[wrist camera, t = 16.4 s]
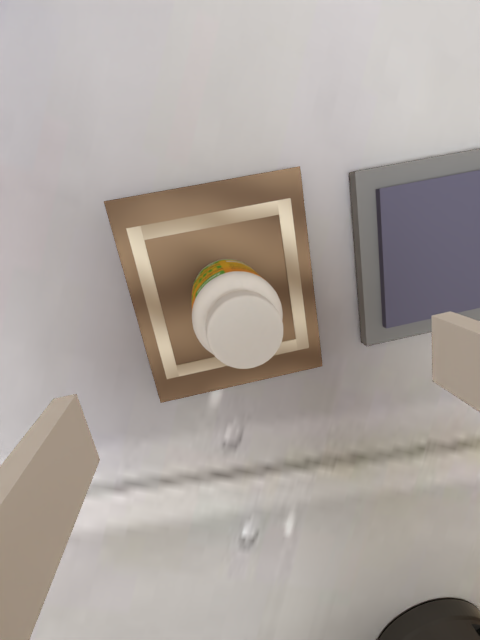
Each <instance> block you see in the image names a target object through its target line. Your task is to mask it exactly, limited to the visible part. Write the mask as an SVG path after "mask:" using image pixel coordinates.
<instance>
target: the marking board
mask: <svg viewBox="0 0 480 640" xmlns="http://www.w3.org/2000/svg"><path fill="white" fill-rule="evenodd" d="M104 204H105V207H106V211H107V214H108V218H109V222H110V225H111V229H112V232H113V236H114V239H115V243H116V246H117V250H118V253H119V257H120V260H121V264H122V267H123V271H124V275H125V278H126V282H127V285H128V289H129V292H130V296H131V299H132V303H133V306H134V310H135V313H136V317H137V321H138V324H139V328H140V331H141V335H142V338H143V342H144V345H145V349H146V352H147V356H148V359H149V363H150V367H151V370H152V374H153V377H154V381H155V384H156V388H157V391H158V395H159V398H160V402H161V403H162V402H166V401H171V400H175V399H180V398H184V397H188V396H193V395H197V394H202V393H206V392H210V391H215V390H219V389H224V388H228V387H232V386H237V385H241V384H246V383H250V382H254V381H259V380H263V379H268V378H272V377H276V376H281V375H285V374H290V373H294V372H298V371H303V370H307V369H312V368H316V367H320V366H322V357H321V348H320V340H319V331H318V322H317V313H316V304H315V295H314V286H313V278H312V269H311V260H310V251H309V242H308V233H307V224H306V216H305V207H304V198H303V189H302V180H301V171H300V167H294V168H289V169H283V170H277V171H272V172H266V173H261V174H255V175H249V176H244V177H238V178H233V179H227V180H221V181H216V182H210V183H205V184H199V185H193V186H188V187H182V188H177V189H171V190H165V191H160V192H154V193H149V194H143V195H138V196H132V197H126V198H121V199H115V200H110V201H104ZM222 259H233V260H238V261H240V262H243V263H245V264H246V265H248V266H249V267H251V268H252V269H253V270H254V271H255V272H256V273H258V274H259V275H260V276H261V277H262V278H264V279H265V280H266V281H267V282H268V283H269V284H270V285H271V286H272V287H273V289H274V290H275V291H276V293H277V295H278V297H279V299H280V302H281V305H282V312H283V319H282V322H283V339H282V342H281V345H280V347H279V349H278V350H277V352H276V353H275V354H274V355H273V357H272V358H271V359H269V360H268V361H267V362H265V363H264V364H262V365H260V366H257V367H254V368H249V369H238V368H233V367H230V366H227V365H225V364H224V363H222V362H221V361H219V360H218V359H217V358H216V357H215V356H214V355H213V354H212V353H210V352H209V351H208V350H206V349H205V348H204V347H203V346H202V344H201V343H200V342H199V340H198V338H197V336H196V334H195V332H194V329H193V324H192V288H193V284H194V281H195V279H196V277H197V275H198V274H199V273H200V271H201V270H202V269H203V268H204V267H206V266H207V265H209V264H210V263H212V262H214V261H217V260H222Z"/></svg>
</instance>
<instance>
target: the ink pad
mask: <svg viewBox="0 0 480 640" xmlns="http://www.w3.org/2000/svg"><path fill="white" fill-rule="evenodd" d="M349 179H350V192H351V206H352V220H353V234H354V247H355V261H356V275H357V288H358V302H359V316H360V330H361V342H362V343H363V344H364V345H366V346H371V345H375V344H380V343H384V342H389V341H393V340H397V339H402V338H406V337H411V336H415V335H420V334H424V333H429V332H432V315H436V314H441V313H445V312H450V311H451V312H454V313H457V314H460V315H463V316H466V317H469V318H471V319H474V320H477V321H480V149H475V150H470V151H464V152H459V153H453V154H448V155H442V156H437V157H431V158H426V159H420V160H415V161H409V162H404V163H398V164H393V165H387V166H382V167H376V168H371V169H365V170H360V171H355V172H351V173H349Z"/></svg>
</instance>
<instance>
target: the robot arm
mask: <svg viewBox="0 0 480 640" xmlns="http://www.w3.org/2000/svg"><path fill="white" fill-rule="evenodd" d="M432 377H433V382H435V383H436V384H438V385H439V386H441V387H442V388H444V389H445V390H447V391H448V392H450V393H451V394H453V395H454V396H456V397H458V398H459V399H461V400H462V401H464V402H465V403H467V404H468V405H470V406H471V407H473V408H474V409H476V410H477V411H479V412H480V321H477V320H474V319H471V318H469V317H466V316H463V315H460V314H457V313H454V312H451V311H450V312H445V313H441V314H436V315H432ZM99 461H100V459H99V456H98V453H97V450H96V447H95V445H94V442H93V439H92V436H91V433H90V431H89V428H88V425H87V422H86V419H85V417H84V414H83V411H82V408H81V405H80V403H79V400H78V397H77V394H73V395H68V396H64V397H59V398H55V399H53V400H52V402H51V403H50V404H49V405H48V407H47V408H46V409H45V410H44V412H43V413H42V414H41V415H40V417H39V418H38V419H37V421H36V422H35V423H34V424H33V426H32V427H31V428H30V429H29V431H28V432H27V433H26V434H25V436H24V437H23V438H22V440H21V441H20V442H19V443H18V445H17V446H16V447H15V448H14V450H13V451H12V452H11V453H10V455H9V456H8V457H7V458H6V460H5V461H4V462H3V464H2V465H1V466H0V640H29V639H30V637H31V634H32V632H33V629H34V627H35V624H36V621H37V619H38V616H39V614H40V611H41V609H42V606H43V604H44V601H45V598H46V596H47V593H48V591H49V588H50V586H51V583H52V581H53V578H54V576H55V573H56V570H57V568H58V565H59V563H60V560H61V558H62V555H63V553H64V550H65V547H66V545H67V542H68V540H69V537H70V535H71V532H72V530H73V527H74V524H75V522H76V519H77V517H78V514H79V512H80V509H81V507H82V504H83V501H84V499H85V496H86V494H87V491H88V489H89V486H90V484H91V481H92V478H93V476H94V473H95V471H96V468H97V466H98V463H99ZM379 640H480V611H479V610H478V608H476V607H475V606H474V605H472V604H471V603H468V602H466V601H462V600H456V599H444V600H437V601H432V602H429V603H426V604H423V605H420V606H418V607H416V608H414V609H412V610H410V611H408V612H406V613H405V614H403V615H402V616H400V617H399V618H397V619H396V620H395V621H394V622H393V623H392V624H391V625H389V627H388V628H387V629H386V630H385V631H384V632H383V634H382V635H381V636H380V638H379Z"/></svg>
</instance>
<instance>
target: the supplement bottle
mask: <svg viewBox="0 0 480 640" xmlns="http://www.w3.org/2000/svg"><path fill="white" fill-rule="evenodd" d="M282 319H283V312H282V305H281V302H280V299H279V297H278V295H277V293H276V291H275V290H274V289H273V287H272V286H271V285H270V284H269V283H268V282H267V281H266V280H265V279H264V278H262V277H261V276H260V275H259V274H258V273H256V272H255V271H254V270H253V269H252V268H251V267H249V266H248V265H246V264H245V263H243V262H240V261H238V260H233V259H222V260H217V261H214V262H212V263H210V264H209V265H207V266H206V267H204V268H203V269H202V270H201V271H200V273H199V274H198V275H197V277H196V279H195V281H194V284H193V288H192V324H193V329H194V332H195V334H196V336H197V338H198V340H199V342H200V343H201V344H202V346H203V347H204V348H205V349H206V350H208V351H209V352H210V353H212V354H213V355H214V356H215V357H216V358H217V359H218V360H219V361H221V362H222V363H224V364H225V365H227V366H230V367H233V368H238V369H249V368H254V367H257V366H260V365H262V364H264V363H265V362H267V361H268V360H269V359H271V358H272V357H273V355H274V354H275V353H276V352H277V350H278V349H279V347H280V345H281V342H282V339H283V322H282Z"/></svg>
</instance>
